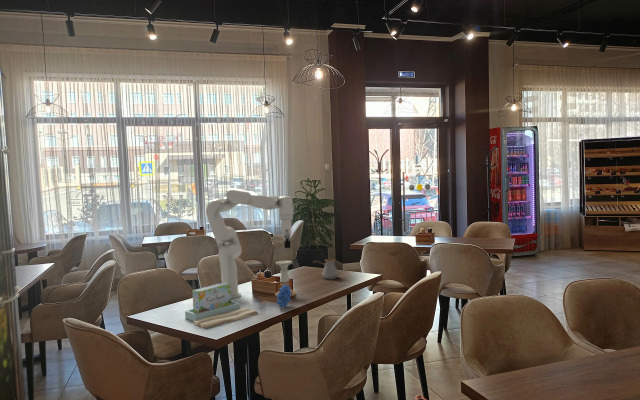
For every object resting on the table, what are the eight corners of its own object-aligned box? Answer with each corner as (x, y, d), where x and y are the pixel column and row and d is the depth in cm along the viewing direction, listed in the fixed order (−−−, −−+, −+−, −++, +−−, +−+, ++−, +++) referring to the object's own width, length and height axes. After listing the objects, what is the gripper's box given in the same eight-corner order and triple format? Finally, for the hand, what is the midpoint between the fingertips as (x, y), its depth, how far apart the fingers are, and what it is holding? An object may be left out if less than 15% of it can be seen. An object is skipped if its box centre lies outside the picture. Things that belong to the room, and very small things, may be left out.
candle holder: (298, 296, 272) (296, 262, 271) (277, 298, 268) (275, 264, 268) (293, 291, 284) (291, 259, 283) (273, 294, 280) (271, 261, 279)
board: (193, 324, 227) (193, 321, 227) (244, 310, 248) (244, 307, 248) (206, 328, 218) (205, 325, 218) (257, 314, 239) (257, 311, 239)
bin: (185, 318, 238) (184, 310, 237) (228, 307, 255) (228, 300, 255) (195, 322, 230) (195, 314, 229) (240, 310, 247) (239, 303, 247)
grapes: (285, 303, 257) (284, 282, 257) (294, 304, 253) (293, 283, 253) (271, 308, 248) (270, 286, 247) (281, 310, 244) (280, 287, 243)
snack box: (200, 320, 232) (198, 291, 232) (193, 319, 236) (191, 290, 235) (232, 310, 249) (230, 282, 249) (225, 308, 253) (223, 281, 252)
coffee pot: (329, 275, 326) (328, 254, 325) (342, 277, 318) (341, 255, 318) (308, 281, 310) (307, 259, 310) (321, 283, 302) (320, 260, 302)
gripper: (280, 216, 276) (281, 245, 277) (279, 218, 259) (280, 249, 260) (292, 216, 276) (294, 244, 277) (292, 218, 259) (294, 248, 260)
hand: (287, 246), depth 268 cm, fingers open, 9 cm apart
